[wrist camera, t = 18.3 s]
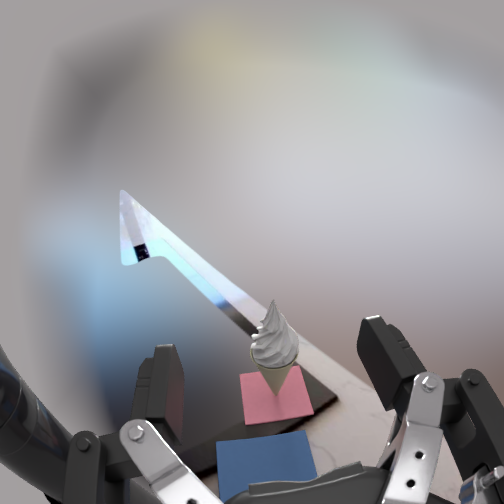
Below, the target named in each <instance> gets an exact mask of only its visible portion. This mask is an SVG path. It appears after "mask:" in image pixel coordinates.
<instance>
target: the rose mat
mask: <svg viewBox="0 0 504 504" xmlns="http://www.w3.org/2000/svg"><path fill="white" fill-rule="evenodd" d="M240 383H241V391H242V400H243V407H244V416H245V425H255V424H262V423H269V422H276V421H282V420H288V419H293V418H299V417H304V416H309V415H313V414H314V412H313V409H312V406H311V402H310V399H309V396H308V393H307V389H306V386H305V383H304V380H303V376H302V373H301V370H300V367H299V366H293V367H291V369H290V371H289V373H288V375H287V377H286V379H285V381H284V383H283V385H282V387H281V389H280V391H279V393H278V395H277V396H275V395H274V394H273V392H272V391H271V389H270V387H269V386H268V384H267V382H266V381H265V379H264V377H263V376H262V374H261V372H254V373H246V374H240Z"/></svg>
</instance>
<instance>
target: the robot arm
mask: <svg viewBox="0 0 504 504" xmlns="http://www.w3.org/2000/svg"><path fill="white" fill-rule="evenodd" d="M357 352H358V355H359V357H360V359H361V361H362V363H363V365H364V367H365V369H366V371H367V373H368V375H369V377H370V379H371V381H372V383H373V385H374V388H375V390H376V392H377V394H378V396H379V398H380V400H381V402H382V404H383V406H384V408H385V411H389V410H392V409H395V411H396V415H395V418H394V421H393V424H392V428H391V431H390V434H389V437H388V440H387V443H386V446H385V449H384V451H383V454H382V456H381V457H380V459H379V461H378V463H377V466H376V467H369V466H362V464H361V462H360V461H359V462H356V463H352V464H349V465H346V466H342V467H338V468H335V469H333V470H331V471H329V472H327V473H325V474H323V475H321V476H318V477H316V478H314V479H312V480H310V481H278V480H277V481H270V482H262V483H254V484H248V487H249V489H248V490H245V491H242V492H240V493H238V494H236V495H234V496H233V497H231V498H230V499H228V500H227V501H226V502H225V503H223V502H222V501H221V500H219V499H218V498H217V497H216V496H215V495H214V494H213V493H212V492H211V491H210V490H209V489H208V488H207V487H206V486H205V485H204V484H203V483H202V482H201V481H200V480H199V479H198V478H197V477H196V475H195V474H194V473H193V472H192V471H191V470H190V469H189V468H188V467H187V466H186V465H185V464H184V463H183V462H182V461H181V460H180V459H179V458H178V456H177V455H176V454H175V453H174V445H182V422H183V395H184V372H183V368H182V364H181V362H180V359H179V356H178V353H177V350H176V347H175V345H174V344H168V345H156V347H155V352H154V358H146V359H145V360H144V361H143V363H142V364H141V366H140V368H139V372H138V380H137V382H136V388H135V393H134V399H133V404H132V411H131V416H130V420H129V422H127V423H126V424H125V425H124V426H123V427H122V428H121V430H120V431H118V432H116V433H112V434H108V435H103V436H99V437H98V436H97V435H96V434H94V433H93V432H90V431H81V432H78V433H77V434H75V435H74V436H72V435H71V434H70V433H69V432H68V431H67V430H66V429H65V428H64V427H63V426H62V425H61V424H60V423H59V421H58V420H57V419H56V418H55V417H54V416H53V415H52V414H51V413H50V412H49V410H48V409H46V407H45V406H44V405H43V404H42V402H41V401H40V400H39V399H38V398H37V396H36V395H35V394H34V393H33V392H32V390H31V389H30V388H29V387H28V386H27V384H26V383H25V381H24V380H23V379H22V378H21V376H20V375H19V373H18V372H17V371H16V369H15V368H14V367H13V366H12V364H11V362H10V361H9V359H8V358H7V356H6V354H5V352H4V351H3V349H2V347H1V345H0V463H2V464H3V465H4V466H6V467H7V468H8V469H10V470H11V471H12V472H14V473H15V474H17V475H18V476H19V477H21V478H22V479H24V480H25V481H27V482H28V483H30V484H31V485H33V486H35V487H36V488H37V489H39V490H41V491H42V492H44V493H45V494H47V495H49V496H50V497H52V498H54V499H55V500H57V501H58V502H60V503H61V504H130V478H134V477H139V476H144V477H145V478H146V480H147V481H148V482H149V486H150V488H151V489H152V491H153V492H154V493H155V495H156V496H157V497H158V498H159V500H160V501H161V502H162V503H163V504H454V503H452V502H450V501H448V500H445V499H443V498H441V497H439V496H437V495H434V494H432V493H430V492H429V491H430V488H431V484H432V481H433V477H434V473H435V469H436V465H437V461H438V457H439V452H440V447H441V442H442V437H443V434H444V437H445V439H446V441H447V443H448V446H449V448H450V450H451V453H452V455H453V457H454V460H455V462H456V465H457V467H458V470H459V472H460V475H461V477H462V480H463V484H462V486H461V489H460V494H459V499H460V501H461V504H504V407H503V406H502V404H501V402H500V401H499V399H498V397H497V396H496V394H495V392H494V391H493V389H492V388H491V386H490V384H489V383H488V381H487V379H486V378H485V376H484V375H483V374H482V373H481V372H480V371H478V370H476V369H467V370H465V371H464V372H463V373H462V374H461V376H460V377H459V378H452V379H442V378H441V377H440V376H439V375H437V374H435V373H433V372H427V370H426V369H425V367H424V366H423V364H422V363H421V361H420V360H419V358H418V357H417V355H416V354H415V352H414V351H413V349H412V348H411V347H410V345H409V343H408V342H407V340H405V337H404V336H403V334H402V333H401V331H400V330H398V329H397V328H396V327H394V326H393V325H391V324H389V325H386V323H385V322H384V320H383V319H382V317H381V316H379V315H378V316H373V317H369V318H364V319H363V320H362V322H361V327H360V331H359V336H358V340H357ZM467 412H468V414H469V416H470V417H469V416H468V414H467ZM470 418H471V419H470ZM471 420H472V421H471ZM472 422H473V423H472ZM473 424H474V425H473ZM474 426H475V427H474Z"/></svg>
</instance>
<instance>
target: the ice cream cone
mask: <svg viewBox="0 0 504 504" xmlns="http://www.w3.org/2000/svg"><path fill="white" fill-rule="evenodd" d="M260 322H261V323H263V326H260V327H257V330H259V334H253V335H252V338H253V340H256V342H255V343H253V344H252V346H251V351H250V356H251V359H252V360H253V362H254V363H255V364H256V365H257V367H258V369H259V371H260V372H261V374H262V376H263V377H264V379H265V381H266V382H267V384H268V386H269V387H270V389H271V391H272V392H273V394H274V395H275V396H277V395H278V393H279V391H280V389H281V387H282V385H283V383H284V381H285V379H286V377H287V375H288V373H289V371H290V369H291V367H292V364H293V362H294V361H295V360H296V359H297V356H298V353H299V340H298V336H297V333H296V331H295V330H294V329H293V328H291V327H290V326H289V325H288V323H287V321H286V317H284V316H283V315H282V314H281V312H280V311H279V309H278V307H277V305H276V304H275V302H274V300H272V303H271V305H270V307H269V309H268V311H267V314H266V317H265V318H264V319H262V320H261V321H260Z"/></svg>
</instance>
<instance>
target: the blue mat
mask: <svg viewBox="0 0 504 504" xmlns="http://www.w3.org/2000/svg"><path fill="white" fill-rule="evenodd" d="M216 451H217V467H218V481H219V494H220V500H221V501H222V502H223V503H225V502H226V501H227V500H228V499H230V498H231V497H233V496H234V495H236V494H238V493H240V492H242V491H245V490H248V489H249V487H248V484H254V483H262V482H270V481H277V480H278V481H310V480H312V479H314V478H316V477H318V476H317V473H316V469H315V465H314V461H313V458H312V454H311V450H310V446H309V443H308V439H307V435H306V431H305V430H302V431H296V432H291V433H285V434H279V435H273V436H266V437H259V438H251V439H242V440H232V441H220V442H216Z"/></svg>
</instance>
